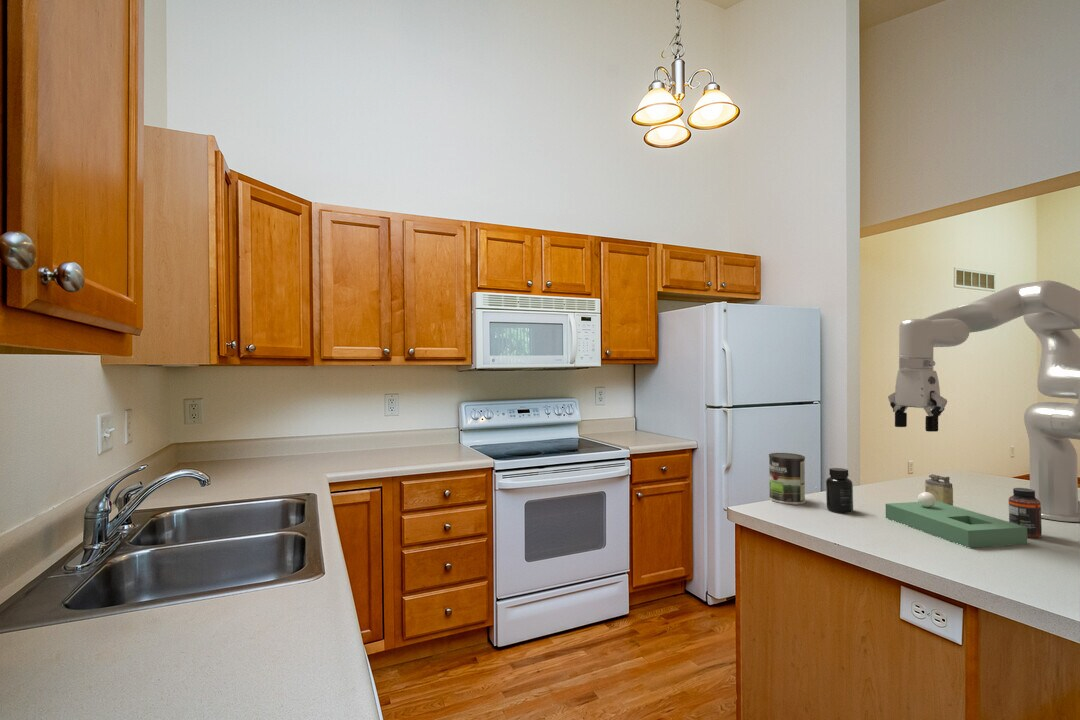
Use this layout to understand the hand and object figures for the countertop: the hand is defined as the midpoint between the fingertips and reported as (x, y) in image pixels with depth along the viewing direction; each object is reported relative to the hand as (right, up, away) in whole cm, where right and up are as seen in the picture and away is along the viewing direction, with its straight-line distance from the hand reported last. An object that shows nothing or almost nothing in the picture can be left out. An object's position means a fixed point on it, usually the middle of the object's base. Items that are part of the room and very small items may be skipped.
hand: (915, 429), depth 140 cm
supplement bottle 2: (+20, -25, -10) cm, 34 cm away
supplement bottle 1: (-13, -26, +12) cm, 31 cm away
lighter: (+16, -25, +13) cm, 33 cm away
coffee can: (-23, -26, +24) cm, 42 cm away
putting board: (+5, -25, -6) cm, 26 cm away
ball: (+4, -19, +1) cm, 20 cm away
